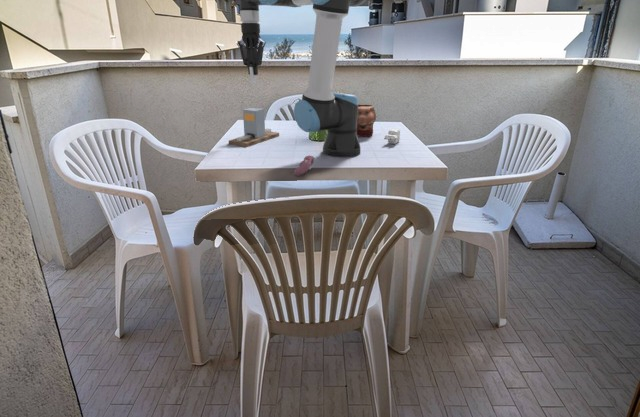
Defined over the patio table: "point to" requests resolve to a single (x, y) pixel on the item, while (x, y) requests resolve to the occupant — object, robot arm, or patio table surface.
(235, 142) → the board
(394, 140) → the power adapter
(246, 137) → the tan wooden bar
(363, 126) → the decorative planter
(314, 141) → the patio table surface
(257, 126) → the module
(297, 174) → the pink mottled elongated lump
